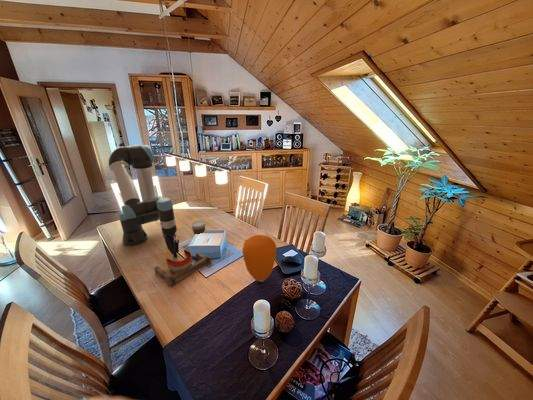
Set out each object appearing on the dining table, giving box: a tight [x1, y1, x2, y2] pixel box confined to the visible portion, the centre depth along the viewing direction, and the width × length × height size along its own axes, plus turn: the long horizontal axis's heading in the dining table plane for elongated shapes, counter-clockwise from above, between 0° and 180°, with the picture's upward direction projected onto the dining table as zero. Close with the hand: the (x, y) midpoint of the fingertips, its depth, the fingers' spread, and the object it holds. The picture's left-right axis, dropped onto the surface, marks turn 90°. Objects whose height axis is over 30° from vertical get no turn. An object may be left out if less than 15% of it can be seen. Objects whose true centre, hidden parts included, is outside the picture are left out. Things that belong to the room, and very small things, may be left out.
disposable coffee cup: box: [190, 220, 206, 235], centre depth 157 cm, size 10×10×12 cm
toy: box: [165, 249, 193, 275], centre depth 127 cm, size 12×10×8 cm
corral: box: [153, 253, 212, 288], centre depth 128 cm, size 17×26×4 cm, turn 143°
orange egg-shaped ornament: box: [242, 234, 278, 283], centre depth 115 cm, size 17×17×25 cm
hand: (175, 261), depth 133 cm, fingers closed
